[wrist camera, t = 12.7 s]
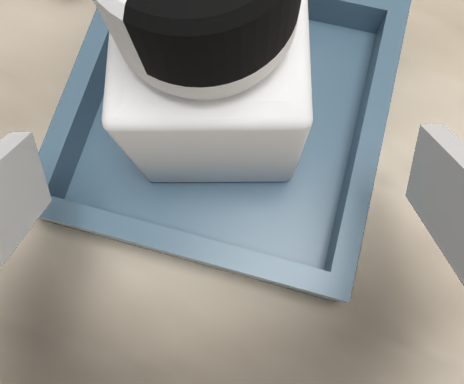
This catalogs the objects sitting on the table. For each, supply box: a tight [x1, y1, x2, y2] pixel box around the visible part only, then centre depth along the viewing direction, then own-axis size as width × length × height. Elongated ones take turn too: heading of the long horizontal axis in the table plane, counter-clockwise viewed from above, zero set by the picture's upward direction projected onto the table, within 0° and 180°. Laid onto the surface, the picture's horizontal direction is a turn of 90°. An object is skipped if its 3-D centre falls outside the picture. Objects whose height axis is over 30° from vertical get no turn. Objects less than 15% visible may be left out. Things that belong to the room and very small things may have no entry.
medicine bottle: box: [93, 0, 313, 182], centre depth 16 cm, size 7×7×12 cm
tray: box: [38, 0, 411, 302], centre depth 21 cm, size 15×15×2 cm
